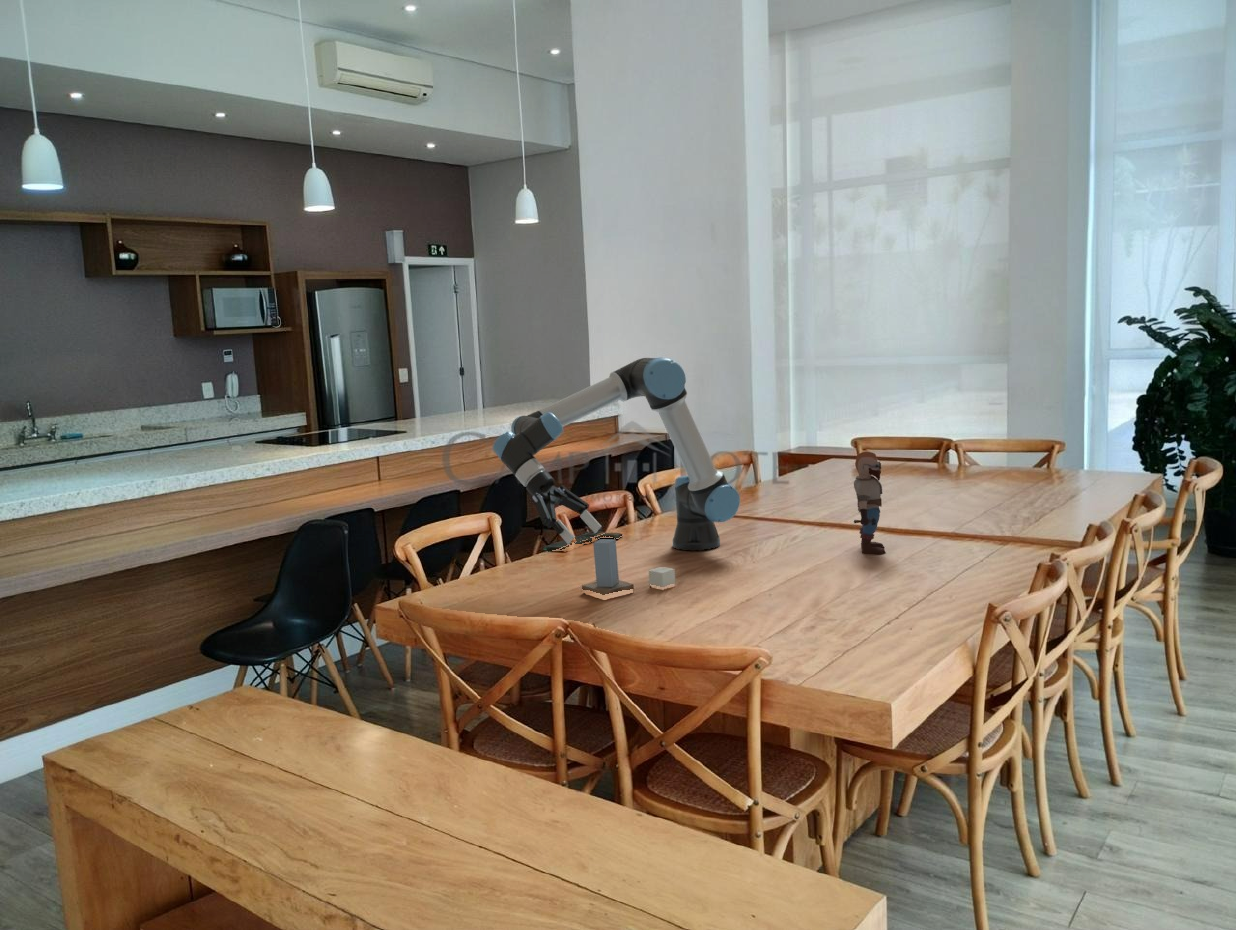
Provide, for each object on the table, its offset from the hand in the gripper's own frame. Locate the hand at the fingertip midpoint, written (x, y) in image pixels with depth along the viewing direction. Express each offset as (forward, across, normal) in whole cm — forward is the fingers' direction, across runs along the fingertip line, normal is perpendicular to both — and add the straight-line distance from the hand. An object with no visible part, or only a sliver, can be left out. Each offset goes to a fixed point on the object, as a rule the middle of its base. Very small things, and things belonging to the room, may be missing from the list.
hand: (585, 535), depth 266 cm
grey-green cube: (+23, -11, +1) cm, 26 cm away
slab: (+16, 0, -8) cm, 17 cm away
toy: (+52, -67, +30) cm, 90 cm away
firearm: (-12, -51, -35) cm, 63 cm away
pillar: (+14, 0, -5) cm, 15 cm away
